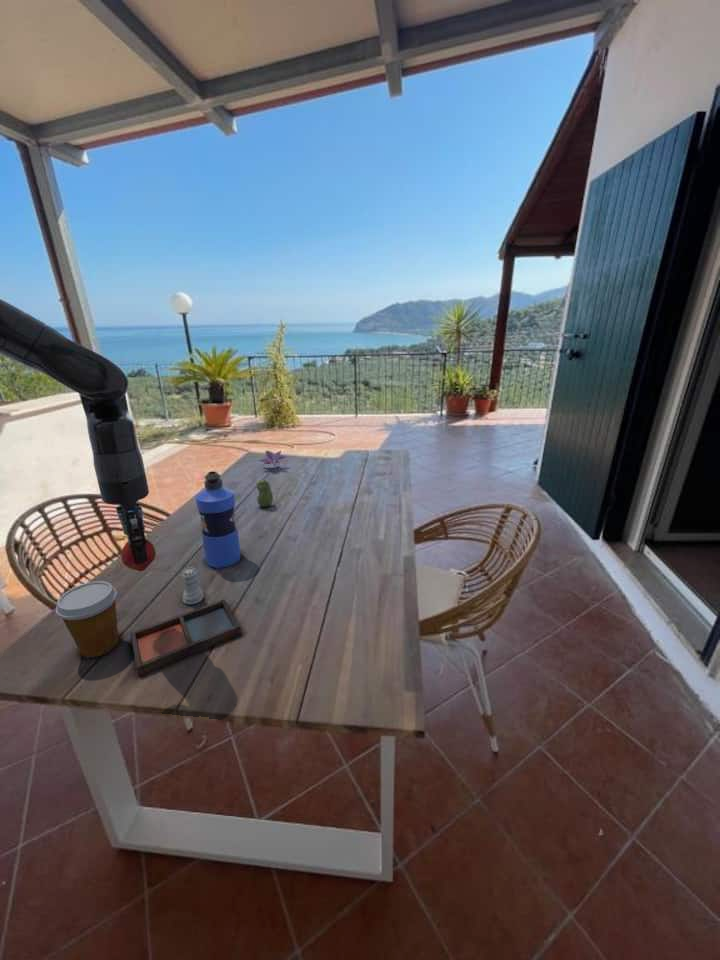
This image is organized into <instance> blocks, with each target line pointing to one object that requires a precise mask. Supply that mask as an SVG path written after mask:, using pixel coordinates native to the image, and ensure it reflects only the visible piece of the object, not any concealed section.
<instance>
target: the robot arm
mask: <svg viewBox="0 0 720 960" xmlns="http://www.w3.org/2000/svg"><path fill="white" fill-rule="evenodd" d="M0 355H2V356H4V357H5V358H8V359H10V360H12V361H14V362H16V363H18V364H20V365H22V366H24V367H27V368H29V369H31V370H34V371H36V372H38V373H41V374H44V375H46V376H47V377H49V378H51V379H52V380H54V381H56V382H57V383H60V384H61V385H63V386H65V387H66V388H69V389H70V390H72V391H73V392H76V393H77V394H78V395H79V398H80V401H81V405H82V408H83V411H84V415H85V418H86V427H87V434H88V438H89V443H90V447H91V451H92V459H93V460H92V461H93V467H94V472H95V476H96V480H97V485H98V489H99V493H100V497H101V500H102V502H103V503H105V504H107V505H118V506H115V511H116V515H117V517H118V520H119V522H120V525H121V527H122V532H123V534H124V535H125V536H126V537H127V542H128V541H129V546H130V547H131V550H132V554H133V559H134V563H135V564H140V563H144V562H146V561H147V560H148V558H147V553H146V548H145V545H146V543H147V541H146V540H145V539H146V533H145V531H146V525H145V522H144V518H143V516H144V511H143V507H142V506H141V502H140V500H143V499H145V498H146V497H147V496H148V495H149V493H150V491H149V484H148V479H147V475H146V469H145V463H144V459H143V456H142V453H141V449H140V447H139V441H138V436H137V430H136V426H135V423H134V421H133V419H132V416H131V415H130V411H129V406H128V401H127V395H126V394H127V392H128V390H129V379H128V376H127V372H126V371H125V370H124V369H123V368H122V366H120V365H119V364H118V363H117V362H115V361H113V360H111V359H110V358H107V357H106V356H104V355H101V354H100V353H98V352H95V351H94V350H91V349H90V348H88V347H86V346H83V345H82V344H80V343H78V342H76V341H73V340H72V339H70V338H68V337H66V335H64V334H62V333H61V332H60V331H58V330H57V329H55V328H53V327H52V326H51V325H49V324H46V323H45V322H44V321H41V320H40V319H37V318H36V317H34V316H33V315H31V314H29V313H27V312H25V311H24V310H22V309H20V308H18V307H16V306H15V305H13V304H11V303H9V302H7V301H5V300H3V299H1V298H0ZM137 536H139V537H141V538H140V539H136V540H133V538H134V537H137Z"/></svg>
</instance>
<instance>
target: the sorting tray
mask: <svg viewBox="0 0 720 960" xmlns="http://www.w3.org/2000/svg"><path fill="white" fill-rule="evenodd" d="M129 635H130V640H131V644H132V650H133V656H134V660H135V667H136V671H137V674H138V677H141V676H144V675H147V674H148V673H151V672H153V671H156V670H158V669H161V668H163V667H166V666H168V665H171V664H173V663H175V662H178V661H180V660H183V659H185V658H187V657H190V656H192V655H194V654H198V653H200V652H202V651H204V650H207V649H209V648H211V647H214V646H217V645H219V644H221V643H223V642H226V641H228V640H231V639H233V638H236V637H238V636H240V635H242V628H241V625H240V623H239V622H238V620H237V617H236V616H235V615H234V613H233V611H232V609H231V608H230V606H229V604H228V603H227V600H226V599H225V598H224V599H221V600H218V601H214V602H212V603H209V604H207V605H206V604H205V605H204V606H201V607H198V608H195V609H193V610H190V611H186V612H184V613H181V614H178V615H176V616H173V617H170V618H166V619H164V620H162V621H159V622H155V623H153V624H150V625H147V626H144V627H142V628H139V629H136V630H134V631H130V632H129Z"/></svg>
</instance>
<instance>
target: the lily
mask: <svg viewBox="0 0 720 960" xmlns="http://www.w3.org/2000/svg"><path fill="white" fill-rule="evenodd" d="M264 455H265V457H264V458H262V459H260V460H259V462H261V463H263V465H264V464H270V465H273V464H274V467H276V465H275V463H279V464H280V461H281V460H284V459H287V458H288V455H284V454H282V450H279V451H276V452H275V453H274V452H272V451H270V450H265V451H264ZM271 463H272V464H271ZM274 469H275V468H274ZM275 472H276V473H277V468H276V469H275Z"/></svg>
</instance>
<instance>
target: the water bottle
mask: <svg viewBox="0 0 720 960" xmlns="http://www.w3.org/2000/svg"><path fill="white" fill-rule="evenodd" d="M221 477H222V475H221V474H219V473H218V472H217V471H209V472H207V474H205V476H204V479H205V480H204V488H205V489H204V490H202V491H200V492H199V493H197V494H196V495H195V504H196V509H197V511H198V514H199V517H200V521H201V538H202V544H203V550H204V557H205V564H206V565H207V566H209V567H211V568H214V569H215V568H216V569H217V568H220V569H221V568H227V567H230V566H232V565H235V564H237V563H238V562H239V561H240V559H241V557H242V556H241V555H242V554H241V548H240V539H239V531H238V526H237V522H236V518H235V511H236V510H235V506H236V499H235V492H234V490H233V489H230V488H226V487H223V480H222V479H221Z"/></svg>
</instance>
